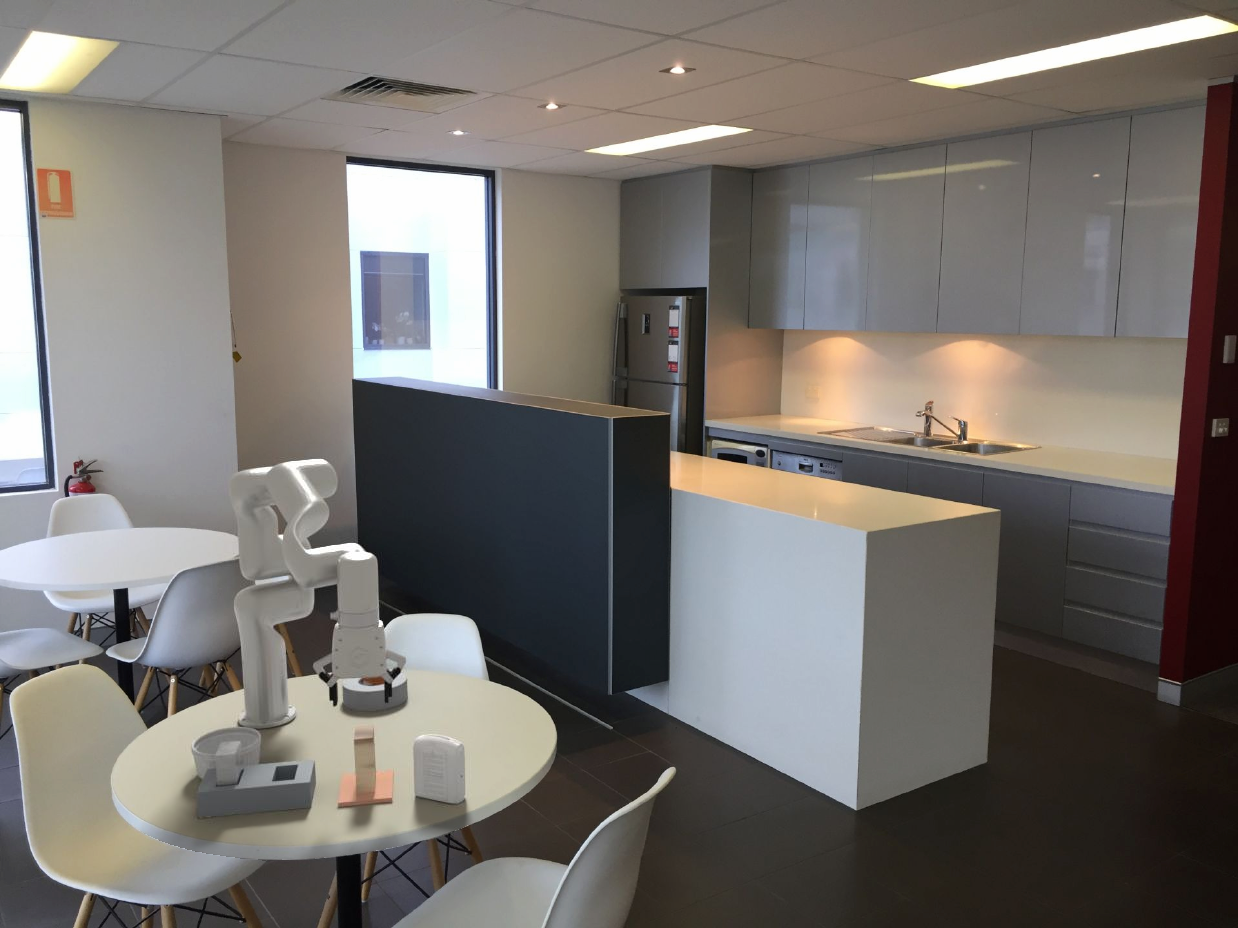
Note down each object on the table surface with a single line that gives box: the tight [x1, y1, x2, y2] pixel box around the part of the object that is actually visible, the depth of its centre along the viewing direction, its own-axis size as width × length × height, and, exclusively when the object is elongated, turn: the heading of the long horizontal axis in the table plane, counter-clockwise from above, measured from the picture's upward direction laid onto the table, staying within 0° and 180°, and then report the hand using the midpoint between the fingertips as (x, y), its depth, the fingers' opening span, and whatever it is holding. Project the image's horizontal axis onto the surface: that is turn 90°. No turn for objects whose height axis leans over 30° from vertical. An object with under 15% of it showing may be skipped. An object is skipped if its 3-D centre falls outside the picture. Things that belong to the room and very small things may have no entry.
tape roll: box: [341, 669, 409, 712], centre depth 240 cm, size 15×15×5 cm
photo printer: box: [412, 733, 466, 805], centre depth 190 cm, size 10×4×12 cm, turn 69°
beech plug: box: [353, 725, 376, 794], centre depth 193 cm, size 6×4×11 cm, turn 12°
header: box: [196, 758, 317, 818], centre depth 190 cm, size 10×20×5 cm, turn 102°
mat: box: [337, 769, 395, 808], centre depth 194 cm, size 12×10×1 cm
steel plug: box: [215, 741, 243, 787], centre depth 188 cm, size 6×4×11 cm, turn 12°
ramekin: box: [190, 726, 262, 781], centre depth 202 cm, size 13×13×7 cm
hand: (361, 701), depth 192 cm, fingers open, 9 cm apart
